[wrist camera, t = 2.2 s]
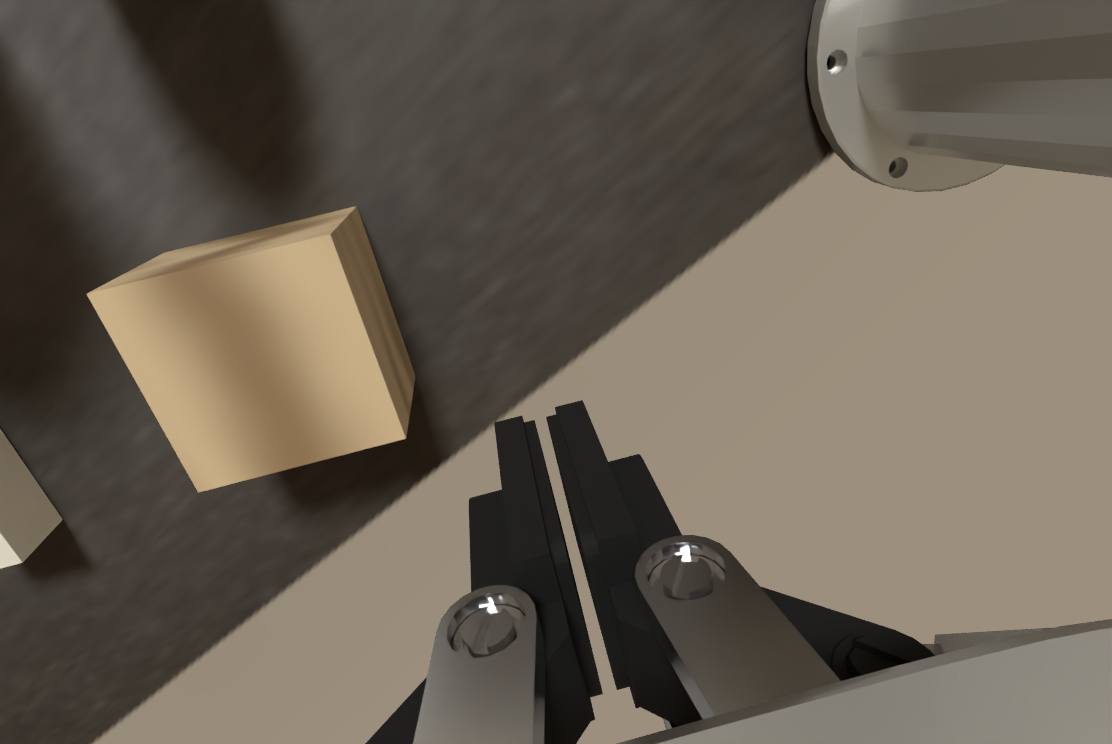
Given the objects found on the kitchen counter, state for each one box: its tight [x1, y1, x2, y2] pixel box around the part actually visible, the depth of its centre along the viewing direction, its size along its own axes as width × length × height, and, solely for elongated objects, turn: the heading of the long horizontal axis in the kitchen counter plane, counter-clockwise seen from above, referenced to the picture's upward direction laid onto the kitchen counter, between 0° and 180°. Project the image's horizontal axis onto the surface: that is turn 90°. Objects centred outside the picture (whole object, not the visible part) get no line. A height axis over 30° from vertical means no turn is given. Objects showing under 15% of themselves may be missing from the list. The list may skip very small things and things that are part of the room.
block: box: [87, 206, 416, 492], centre depth 25 cm, size 8×8×6 cm
